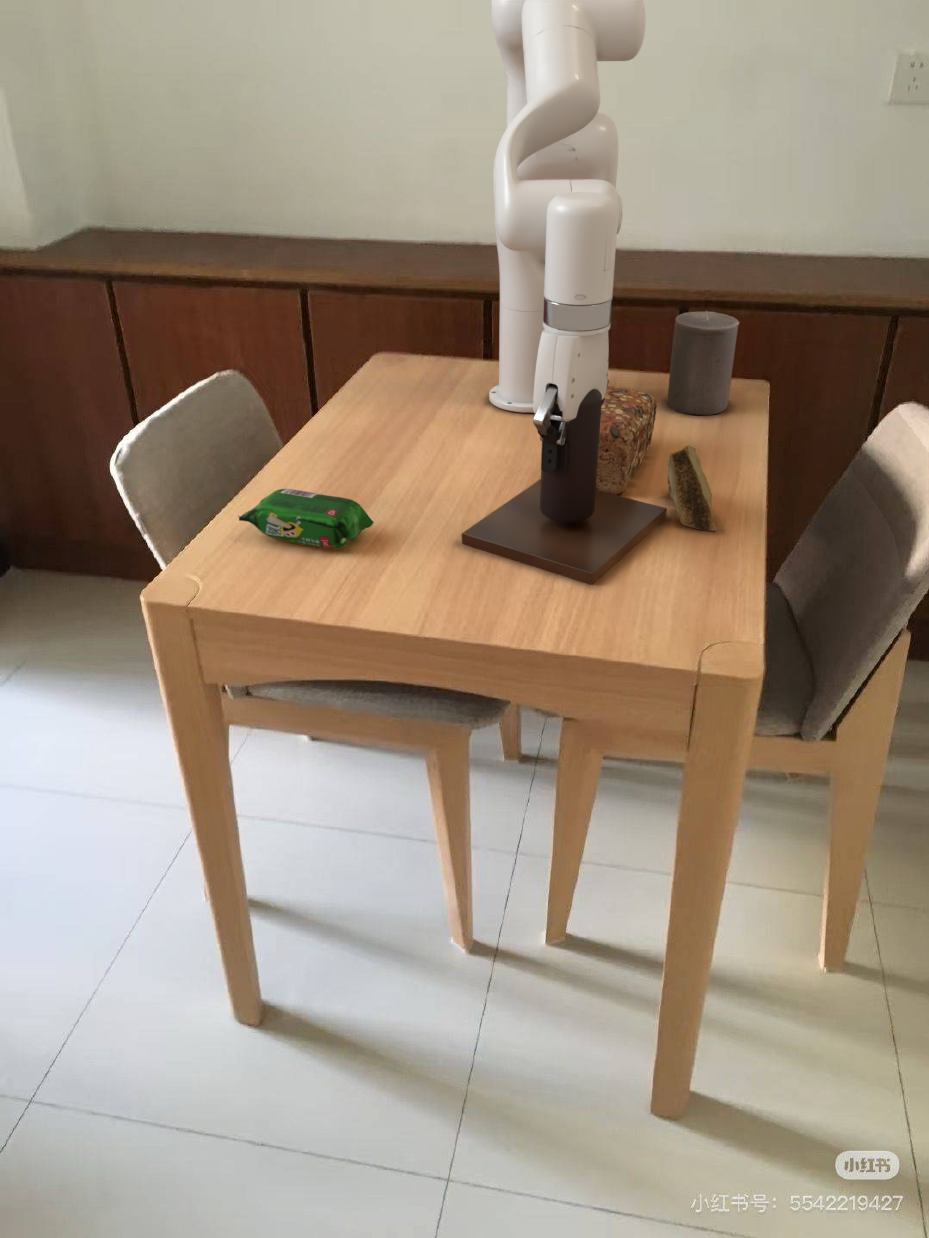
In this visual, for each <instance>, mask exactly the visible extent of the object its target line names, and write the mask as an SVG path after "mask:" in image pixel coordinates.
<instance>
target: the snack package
mask: <svg viewBox="0 0 929 1238" xmlns="http://www.w3.org/2000/svg"><path fill="white" fill-rule="evenodd" d="M237 517H238V521H239V522H247V523H250V524H252V525H253V526H254V527H255V528H256V529H257V530H258V531H259V532H260V533H262V534H263V535H265V536H267V537H269V538H272V539H275V540H279V541H283V542H286V543H291V544H297V545H302V546H307V547H316V548H321V549H327V550H338V549H343V548H344V547H346V546H347V545H348V544H349V543H351V542H352V541H355V540H356V539H357V537H358V535H359V534H361V533H362V531H364V530H366V529H368V528H371V527H372V526H373V525H374V523H375V522H374V520H372V518H371V517H370V516H369V515H368V513H367V511H366V510H365V509H364V508H363V507H362V506H361V504H359V503H358V502H357V501H356V500H353V499H350V498H347V497H343V496H342V497H341V496H334V495H328V494H327V495H326V494H323V493H322V494H321V493H316V492H313V491H311V492H310V491H306V490H300V489H294V488H280V489H277V490H274V491H272V492H271V493H270V494H269V495H267V496H265V497H264V498H262V499H261V500H260V501H259V503H258V504H257V505H256V506H254V507H253V508H251V509H250V510H248V511H246V512H244V513H243V514H242V515H237Z"/></svg>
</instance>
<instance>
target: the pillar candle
mask: <svg viewBox="0 0 929 1238" xmlns="http://www.w3.org/2000/svg"><path fill="white" fill-rule="evenodd" d="M739 325H740V321H739V320H738V319H737V318H735V317H734V316H731V315H728V314H724V313H720V312H715V311H708V310H705V311H690V312H689V311H688V312H683V313H681V314H678V315H677V316H675V321H674V327H673V328H674V330H673V336H672V337H673V338H672V347H671V358H670V367H669V376H668V377H669V378H668V388H667V389H668V391H667V400H666V405H667V406H668V407H669V408H671V410H673V411H676V412H678V413H681V414H687V415H694V416H708V415H709V416H710V415H715V414H719V413H722V412H725V410H726V409H727V408H728V405H729V395H730V389H731V384H732V383H731V382H732V376H733V367H734V361H735V360H734V359H735V351H736V343H737V337H738V330H739Z"/></svg>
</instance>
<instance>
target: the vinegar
mask: <svg viewBox="0 0 929 1238" xmlns="http://www.w3.org/2000/svg"><path fill="white" fill-rule="evenodd" d="M601 405H602V395H601V393H600V392H599V390H598V389H592V390H591V391H589V392H588V393H587V395H586V396H585V397H584V399H583V400H582V402H581V403H580V405H579V408H578V412H577V416H576V418H574V419H573V420H570V422H569V428H568V432H567V436H566V439H565V443H568V459H567V473H566V474H565V475H564V476H559V475H555V474H552V473H548V472H544V471H542V469H541V468H540V479H541V489H540V510H541V512H542V514H543V515H545V516H546V517H547V518H549V519H552V520H554V521H559V522H578V521H582V520H585V519H587V518H589V517H590V516H591V515H592V514H593V513H594V509H595V494H596V479H597V464H598V449H599V434H600V420H601ZM552 414H553V415H558V416H563V411H560V408H559V405H558V404H556V406H555V408H554V410H553V412H552ZM560 425H561V422H559V421H554V420H552V425H551V426H554V427H555V428H556V429H557V431H558V432H559V429H560Z"/></svg>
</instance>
